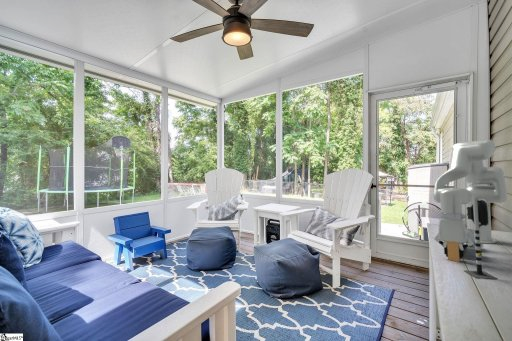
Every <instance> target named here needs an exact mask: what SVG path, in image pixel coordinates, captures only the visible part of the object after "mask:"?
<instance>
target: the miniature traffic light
mask: <svg viewBox="0 0 512 341" xmlns="http://www.w3.org/2000/svg"><path fill="white" fill-rule="evenodd" d="M466 210H467V212H466V215H467V220H468V219H471V220H472V221H473V222H474V225H475V249H476V260H475V261H476V262H475V263H476V270H463V272H465V273H466V274H468V275H470V276H471V277H472V278H474V277H475V279H480V278H488V279H487V280H498V278H497V277H496V276H494V275H492V274H491V273H488V272H486V271H484V270H483V260H482V256H483V254H482V248H481V243H480V235H479V228H480V226H482V225H483V226H488V225H489V224H490V220H489V219H490V218H491V217H490V218H489V210H490V205H489V203H488V202H487V201H486V200H484V199H480V200H478V199H477V197H473V205H472V206H471V207H467V206H466ZM479 223H480V224H479Z"/></svg>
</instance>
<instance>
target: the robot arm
mask: <svg viewBox="0 0 512 341" xmlns="http://www.w3.org/2000/svg"><path fill="white" fill-rule="evenodd" d="M494 153H496V143H495V142H494V141H493V140H492V139H482V140H481V139H480V140H472V141H461V142H457V143H454V144H452V146H451V153H450V159H449V165H448V169H447V170H446V171H445V172H443V173H442V174H441V175H440V176H438V178H437V179H436V180H435V183H434V187H433V188H434V189H433V199H434V201H435V202H436V203H438V204H440V212H441V213H440V215H441V218H439V223H438V233H437V234H436V236H435V237H434V238H433V239H434V241H436V242H437V243H439V244H440V245H441V246H442V248H443V252H444V255H445V257H446V258H448V250H447V242H446V241H450V242H457V243H460V244H459V247H460V248H459V259H460V260H462V259H463V258H462V257H464V251H463V250H464V249H465V248H467V247H469V246H472V245H473V244H474V243H473V242H472V241H471V239H470V238H469V237H468V233H467V228H468V229H474V236H475V225H474V222H473V221H472V220H471V219H468V216H467V214H463V205H466V208H467V207H471V206H472V205H473V197H477V199H478V200H480V199H484V200H486V201H487V202H488V204H489V203H491V204H492V203H493V204H502V203H505V202H507V200H508V191H507V190H508V189H507V184H506V177H505V173H504V171H503V169H502V168H500V167H497V166H490V167H489V166H488V167H485V166H484V161H485V160H488V159H490V158H491V157H492V156H494ZM462 178H465V181H466V183H468V184H469V186H466V187H465V188H460V187H459V188H455V187H453V188H452V187H445V186H447V185H448V184H449V183H452V182H455V181H458V180H460V179H462ZM489 218H490V219H489V220H490V224H489V225H488V226H483V225H482V226H480V228H479V235H480V243H482V244H496V243H497V240H496V239H494V238H493V236H492V222H491V211H490V209H489ZM464 219H467V220H468V221H467V222H468V227H467V223H466V220H464ZM479 224H480V223H479ZM467 241H468V243H467ZM463 243H467V244H465V245H463Z"/></svg>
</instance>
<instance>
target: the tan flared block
mask: <svg viewBox="0 0 512 341" xmlns="http://www.w3.org/2000/svg"><path fill="white" fill-rule="evenodd" d="M446 242H447V250H448V257H447V260H448V261H451V262H452V261H453V262H457V263H459V262H461V259H459V248H460V247H459V244H460V243H457V242H450V241H446Z"/></svg>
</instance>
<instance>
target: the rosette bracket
mask: <svg viewBox="0 0 512 341" xmlns="http://www.w3.org/2000/svg"><path fill="white" fill-rule="evenodd" d="M467 233H468V237H469V238H470V239H471V241H472V242H473V243H474V244H473V245H472V246H469V247H467V248H465V249H464V250H463V251H464V257H462V259H463V260H464V259H465V260H471V261H476V249H475V236H474V229H469V227H467ZM467 243H468V241H467ZM467 243H463V245H465V244H467ZM482 248H484V243H481V249H482Z"/></svg>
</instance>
